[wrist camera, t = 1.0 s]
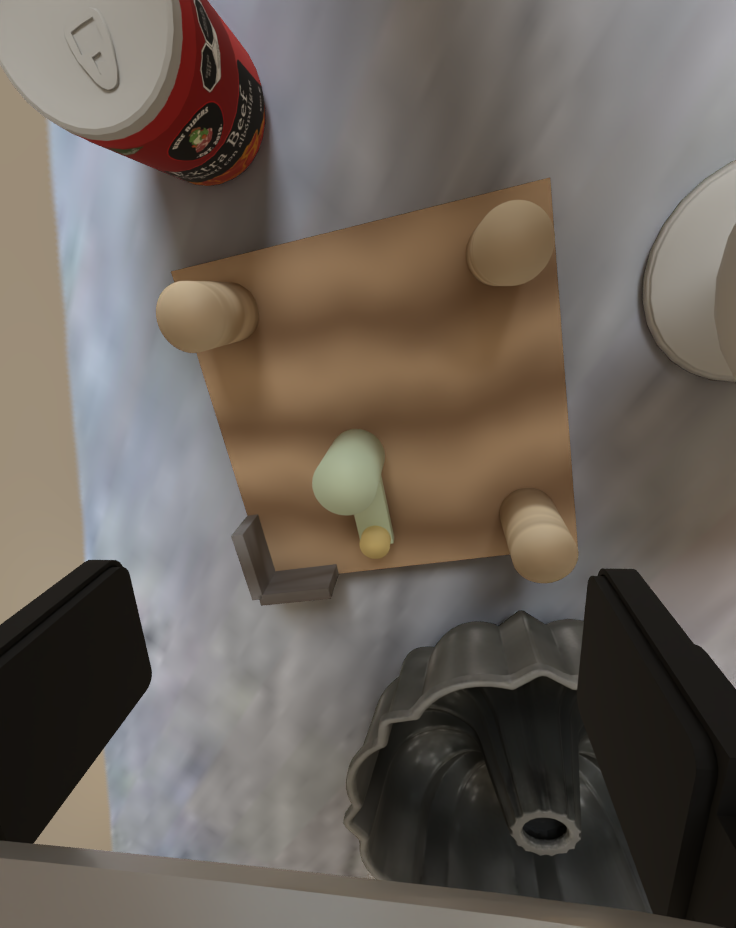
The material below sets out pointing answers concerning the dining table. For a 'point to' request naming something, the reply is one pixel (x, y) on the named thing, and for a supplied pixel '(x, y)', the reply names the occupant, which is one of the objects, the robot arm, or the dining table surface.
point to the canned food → (139, 80)
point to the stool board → (392, 388)
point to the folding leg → (357, 488)
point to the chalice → (697, 280)
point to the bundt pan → (491, 773)
